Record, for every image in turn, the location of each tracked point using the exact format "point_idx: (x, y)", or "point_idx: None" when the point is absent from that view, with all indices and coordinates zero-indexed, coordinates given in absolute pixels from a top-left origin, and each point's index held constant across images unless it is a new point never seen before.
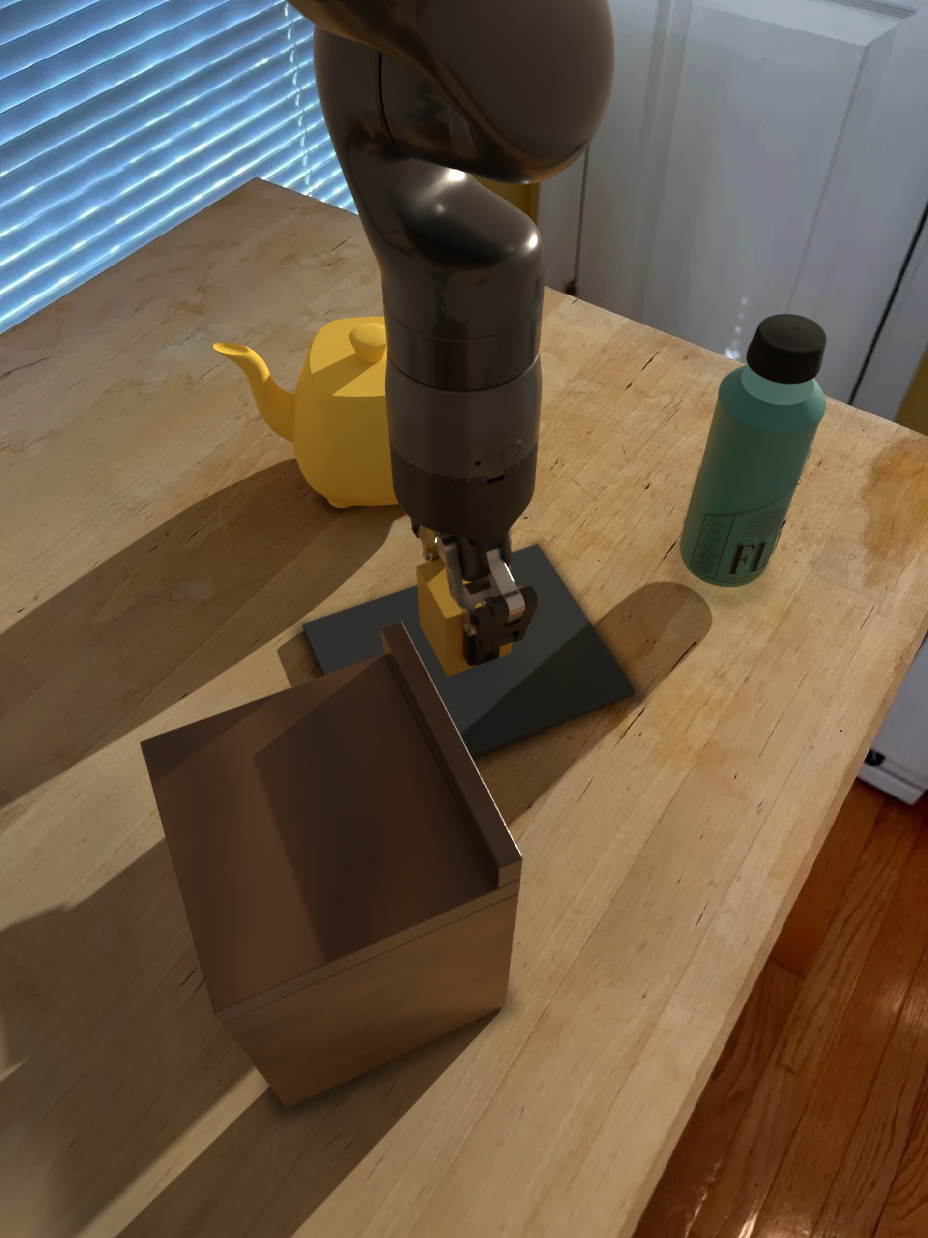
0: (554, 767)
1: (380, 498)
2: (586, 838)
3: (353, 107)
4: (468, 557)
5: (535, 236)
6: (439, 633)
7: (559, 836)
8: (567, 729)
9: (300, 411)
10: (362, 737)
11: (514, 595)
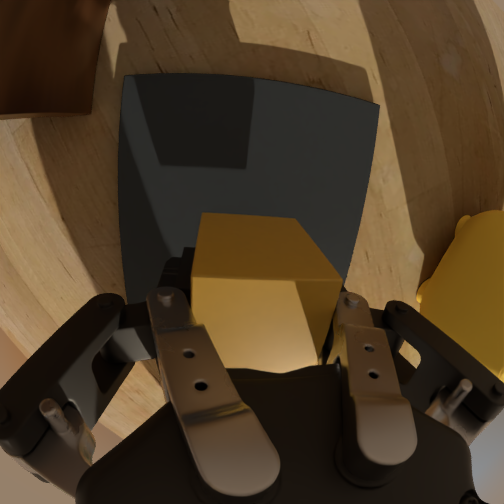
0: (89, 258)
1: (450, 262)
2: (31, 248)
3: None
4: (132, 500)
5: None
6: (225, 240)
7: (36, 229)
8: (122, 287)
9: None
10: None
11: (20, 465)
